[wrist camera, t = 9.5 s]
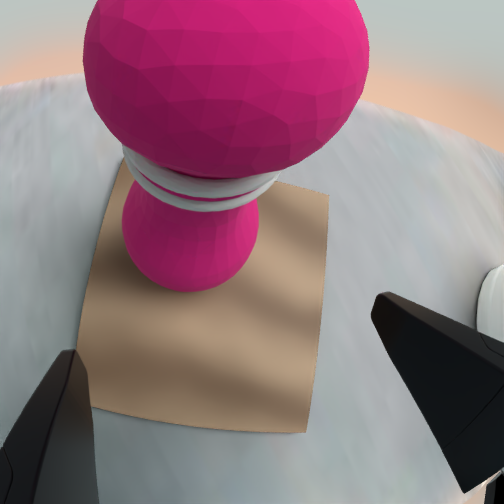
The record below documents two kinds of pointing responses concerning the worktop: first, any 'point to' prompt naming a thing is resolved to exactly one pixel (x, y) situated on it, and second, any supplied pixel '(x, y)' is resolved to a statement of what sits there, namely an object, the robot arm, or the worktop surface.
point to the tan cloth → (211, 325)
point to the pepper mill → (216, 116)
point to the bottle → (492, 305)
